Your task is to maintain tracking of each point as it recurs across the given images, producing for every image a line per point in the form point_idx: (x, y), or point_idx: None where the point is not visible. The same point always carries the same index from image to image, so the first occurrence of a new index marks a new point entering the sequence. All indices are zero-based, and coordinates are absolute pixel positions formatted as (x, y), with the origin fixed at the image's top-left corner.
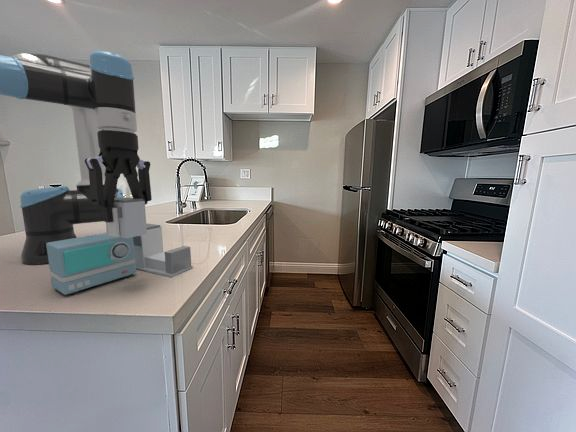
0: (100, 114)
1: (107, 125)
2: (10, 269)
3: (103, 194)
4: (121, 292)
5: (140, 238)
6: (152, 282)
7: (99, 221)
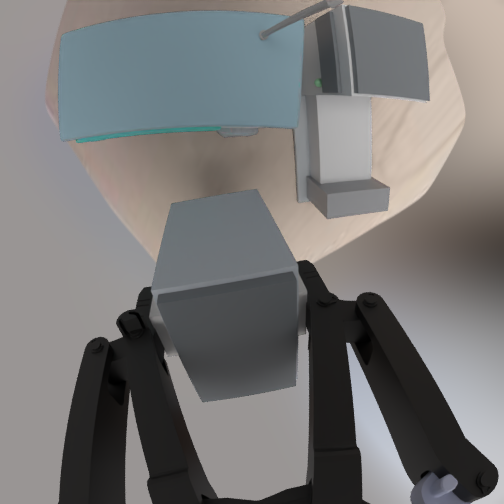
0: None
1: None
2: None
3: (126, 412)
4: (191, 186)
5: (336, 92)
6: (258, 190)
7: None
